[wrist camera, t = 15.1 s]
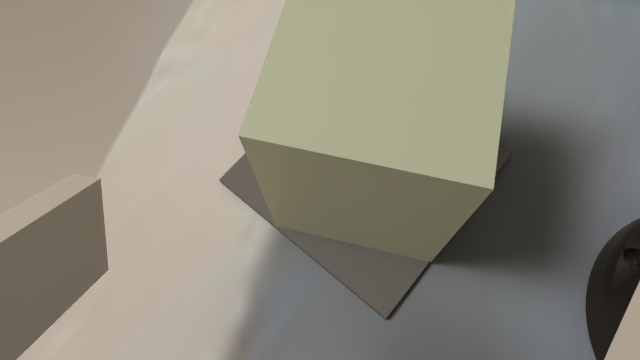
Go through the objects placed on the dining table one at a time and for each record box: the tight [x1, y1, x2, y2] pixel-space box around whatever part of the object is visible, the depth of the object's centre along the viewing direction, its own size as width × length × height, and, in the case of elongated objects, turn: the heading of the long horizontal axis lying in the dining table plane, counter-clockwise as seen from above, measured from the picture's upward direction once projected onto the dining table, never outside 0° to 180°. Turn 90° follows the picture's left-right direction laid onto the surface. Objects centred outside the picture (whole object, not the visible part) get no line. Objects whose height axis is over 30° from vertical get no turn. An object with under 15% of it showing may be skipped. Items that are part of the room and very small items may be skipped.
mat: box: [220, 146, 512, 319], centre depth 32 cm, size 14×14×1 cm
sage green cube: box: [239, 0, 515, 262], centre depth 26 cm, size 10×10×12 cm
